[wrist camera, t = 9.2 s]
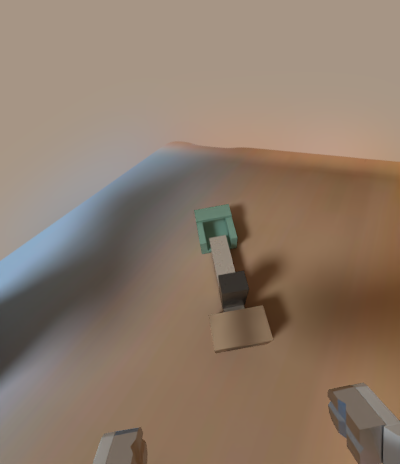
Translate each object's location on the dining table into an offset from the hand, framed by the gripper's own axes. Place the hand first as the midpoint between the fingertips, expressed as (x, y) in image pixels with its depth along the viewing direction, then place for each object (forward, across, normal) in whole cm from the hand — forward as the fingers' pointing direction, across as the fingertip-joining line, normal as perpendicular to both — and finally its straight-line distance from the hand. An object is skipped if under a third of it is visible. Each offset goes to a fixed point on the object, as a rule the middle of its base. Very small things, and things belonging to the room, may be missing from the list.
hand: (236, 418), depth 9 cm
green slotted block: (+31, -3, -1) cm, 31 cm away
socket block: (+19, -3, +11) cm, 22 cm away
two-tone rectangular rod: (+23, -3, +6) cm, 24 cm away
